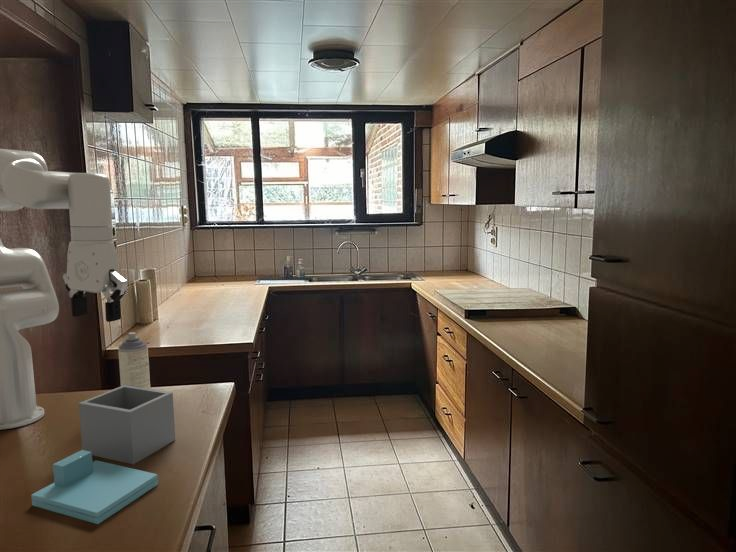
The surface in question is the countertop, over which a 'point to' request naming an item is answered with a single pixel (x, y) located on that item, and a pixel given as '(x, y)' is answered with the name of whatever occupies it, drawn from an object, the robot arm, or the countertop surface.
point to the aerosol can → (134, 362)
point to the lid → (92, 488)
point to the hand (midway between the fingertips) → (96, 317)
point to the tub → (127, 423)
